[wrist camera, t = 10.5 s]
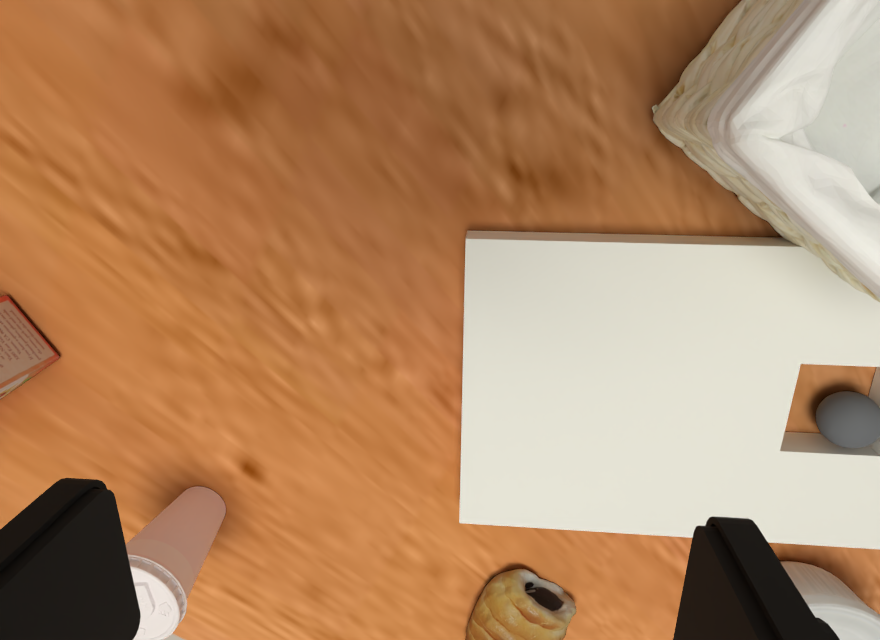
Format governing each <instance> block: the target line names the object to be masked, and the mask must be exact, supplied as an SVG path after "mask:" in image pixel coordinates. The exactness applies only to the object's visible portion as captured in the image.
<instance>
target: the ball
mask: <svg viewBox="0 0 880 640" xmlns="http://www.w3.org/2000/svg"><path fill="white" fill-rule="evenodd" d="M816 424H817V427H818V429H819V431H820V432H821V433H822V435H823V436H824V437H825V438H826V439H828V440H829V441H830V442H832V443H834V444H836V445H838V446H841V447H845V448H861V447H865V446H868V445H870V444H872V443H873V442H875V441H876V440H877V439H878V438H879V437H880V408H879V406H878V405H877V404H876V403H875V402H874V401H873V400H872V399H870V398H869V397H867V396H865V395H863V394H860V393H857V392H851V391H843V392H837V393H834V394H831V395H829V396H827V397H826V398H825V399H824V400H822V402H821V403H820V404H819V406H818V408H817V411H816Z"/></svg>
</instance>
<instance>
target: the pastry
mask: <svg viewBox="0 0 880 640" xmlns="http://www.w3.org/2000/svg"><path fill="white" fill-rule="evenodd" d="M575 613H576V606H575V603H574V601H573V600H572V599H571V598H570V597H569V596H568V594H567V593H564V591H563V589H562V588H561V587H559V586H558V585H557V584H555V583H552V582H549V581H547V580H544V579H540V578H538V577H537V576H536V575H535V574H533V573H532V572H530V571H528V570H526V569H516V570H512V571H506V572H503V573H501V574H498V575H497V576H495V577H494V578H493V579H492V580H491V581H490V582H489V583H488V584H487V586H485V588H484V591H483V593H482V594H481V596H480V598H479V600H478V601H477V603H476V606H475V608H474V611H473V613H472V616H471V618H470V621H469V623H468V626H467V631H466V638H465V640H563V638H564V637H565V635H566V630H567V627H568V624H569V623H570V620H571V618H572V616H573V615H574V614H575Z"/></svg>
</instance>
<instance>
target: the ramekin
mask: <svg viewBox="0 0 880 640" xmlns="http://www.w3.org/2000/svg"><path fill="white" fill-rule="evenodd" d="M780 563H781V564H782V566H783V567H784V569H785V570H786V572H787V574H788V575H789V577H790V578H791V580H792V581H793V583H794V585H795V586H796V588H797V589H798V591H799V592H800V594H801V595H802V597H803V599H804V600H805V602H806V603H807V605H808V606H809V608H810V610H811V611H812V613H813V614H814V616H815V617H816V618H820V619H822V620H823V621H825V622H826V623H828V625H829V626H830V627H831V628H832V629H833V631H834V632H835V633H836V635H837V636H838V638H839V639H840V640H880V615H879V614H878V613H876V612H875V611H874V610H872V609H871V608H869V607H868V606H867V605H866V604H865V603H864V602H863V601H862V600H861V599H860V598H859V597H858V596H857V595H856V594H855V593H854V592H853V591H852V590H851V589H850V588H849V587H847V586H846V585H845V584H844V583H843V582H842V581H841V580H840V579H839V578H837V577H836V576H834V575H833V574H831V573H830V572H827V571H825V570H824V569H822V568H819V567H816V566H814V565H810V564H805V563H801V562H793V561H780Z"/></svg>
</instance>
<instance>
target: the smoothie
mask: <svg viewBox="0 0 880 640" xmlns="http://www.w3.org/2000/svg"><path fill="white" fill-rule="evenodd" d="M225 514H226V506H225V503H224V501H223V499H222V498H221V497H220V496H219V495H218V494H217V493H216V492H214V491H213V490H211V489H209V488H206V487H201V486H196V487H191V488H188V489H187V490H185V491H184V492H183V493H182V494H181V495H180V496H179V497H177V498H176V499H175V500H174V501H173V502H172V503H171V504H170V505H169V506H168V507H166V508H165V509H164V510H163V511H162V512H161V513H160V514H159V515H158V516H157V517H155V518H154V519H153V520H152V521H151V522H150V523H149V524H148V525H147V526H146V527H144V528H143V529H142V530H141V531H140V532H139V533H138V534H137V535H136V536H135V537H133V538H132V539H131V540H130V541H129V542H128V543H127V544H126V550H127V554H128V559H129V563H130V568H131V572H132V577H133V581H134V586H135V590H136V595H137V599H138V604H139V609H140V615H141V618H140V625H139V629H138V631H137V634H136V636H135V637H134V639H133V640H163V639H165V638H167V637H168V636H170V635H171V634H172V633H173V632H174V630H175V629H176V627H177V626H178V624H179V623H180V622H181V621H182V619H183V617H184V615H185V614H186V608H187V598H188V596H189V594H190V592H191V590H192V587H193V585H194V583H195V580H196V578H197V576H198V574H199V572H200V569H201V567H202V565H203V563H204V561H205V558H206V556H207V554H208V552H209V550H210V548H211V545H212V543H213V541H214V539H215V537H216V534H217V532H218V530H219V528H220V526H221V523H222V521H223V519H224V517H225Z"/></svg>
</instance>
